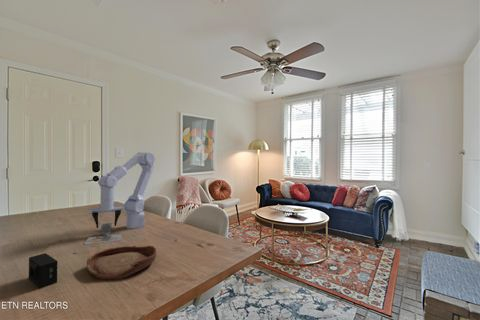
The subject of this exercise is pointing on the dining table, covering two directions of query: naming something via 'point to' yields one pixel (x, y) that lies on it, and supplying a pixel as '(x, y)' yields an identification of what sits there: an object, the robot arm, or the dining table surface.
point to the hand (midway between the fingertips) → (106, 226)
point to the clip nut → (106, 229)
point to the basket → (120, 261)
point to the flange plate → (104, 239)
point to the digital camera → (42, 270)
